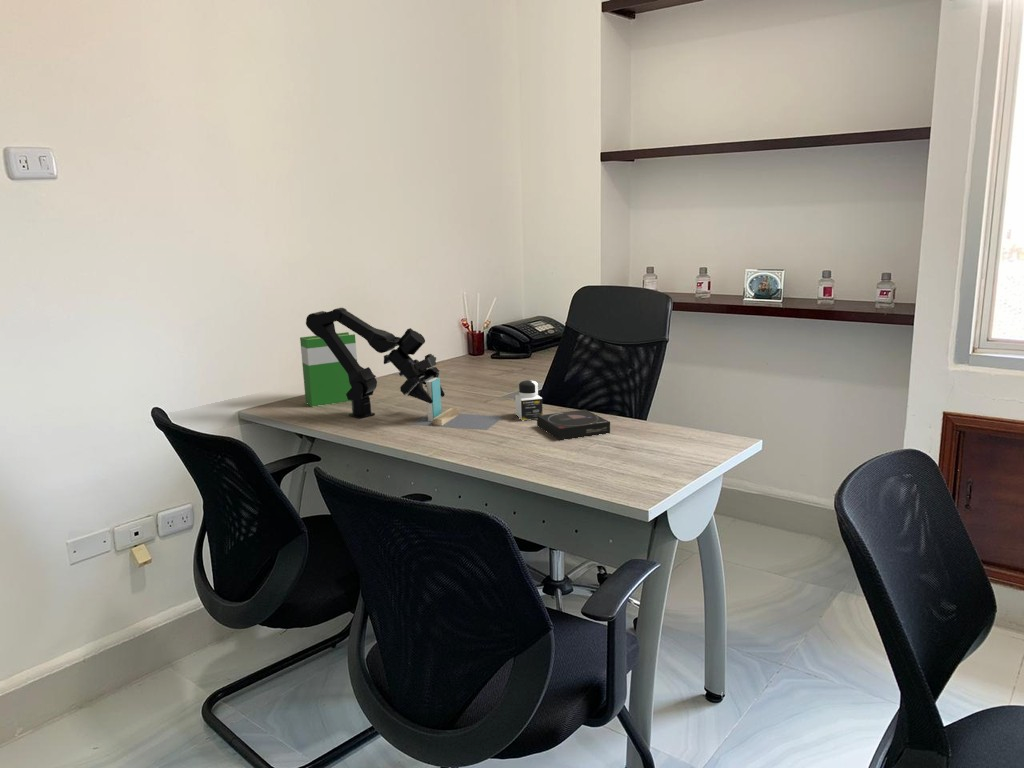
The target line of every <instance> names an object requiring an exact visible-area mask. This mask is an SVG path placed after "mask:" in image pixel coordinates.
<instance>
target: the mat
mask: <svg viewBox="0 0 1024 768" xmlns="http://www.w3.org/2000/svg"><path fill="white" fill-rule="evenodd" d="M503 418H505V416H503V415H502V416H501V415H487V414H471V413H459V415H458V416H456V417H455V418H453V419H451V420H450V421H448V422H447V423H445V424H444V425H442V426H438V425H433V421H428V413H427V414H425V415H424V416H422V417H420V418H418V419H417V420H415V421H414V422H411V423H410V425H411V426H412V425H413V426H423V427H424V426H425V427H439V428H453V429H468V430H482V431H487V430H489V429H490V428H492V427H493V426H494V425H495V424H497V423H498V422H499V421H501V420H502V419H503Z"/></svg>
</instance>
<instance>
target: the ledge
mask: <svg viewBox="0 0 1024 768" xmlns="http://www.w3.org/2000/svg"><path fill="white" fill-rule="evenodd" d="M459 414H460V408H455V407H450V408H449V409H446V410H445V411H442V414H440V415H438V416H437V417H435V418H434V419H433V425H438V426H442V425H444V424H445V423H447V422H448V421H450V420H451V419H453V418H455V417H456V416H458V415H459Z"/></svg>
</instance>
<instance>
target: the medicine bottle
mask: <svg viewBox="0 0 1024 768" xmlns="http://www.w3.org/2000/svg"><path fill="white" fill-rule="evenodd" d="M518 388H519V389H518V393H519V394H515V396H514V397H515V398H514V399H515V416H516V415H517V416H518V417H519V418H520V419H521V420H527V421H532V420H531V419H537V417H538V416H539V415H544V414H543V397H542V396H540V395H539V383H538V382H537V381H535V380H528V379H527V380H523V381H520V382H519V383H518ZM517 416H516V417H517ZM518 417H517V418H518ZM519 418H518V419H519ZM520 419H519V420H520ZM521 420H520V421H521Z"/></svg>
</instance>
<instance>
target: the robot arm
mask: <svg viewBox="0 0 1024 768" xmlns="http://www.w3.org/2000/svg"><path fill="white" fill-rule="evenodd" d="M335 322H338V323H340V324H341V325H342V326H344V327H345V328H348V329H349V330H350V331H352V332H353V333H356V334H357V335H358V336H360V337H361V338H363V339H364V340H365V341H367V343H368V345H369V346H370V347H371V348H372V349H373V350H374V351H376V353H379V354H384V353H387V352H389V351H390V352H389V353H388V354H385V355H383V364H384V365H386V364H389V363H391V364H392V365H393V366H394V367H395V368H396V369H397V370H398V371H399V373H398V375H399V376H400V377H402V376H403V377H404V378H405V379H406V380H405V381H404V382H403V383H402V384H401V386H400V393H402V394H403V395H404V396H406V395H407V396H408V397H412V398H416V399H418V400H421V401H423V402H425V403H430V404H431V403H432V402H433V400H432V399H431V397H430V396H429V395H428V394H427V390H425V388H427V386H426V381H428V380H430V379H432V378H439V376H440V370H439V368H438V367H437V362H436V361H437V357H436V356H435V355H434V354H432V353H428V354H427V355H425V356H424V359H422V360H418V359H413V358H412V356H413V355H414V356H415V354H416V353H417V352H418V351H419V349H420V348H421V347H422V346H423V345H424V344H425V343H426V339H425V337H424V336H423V335H422V333H419V332H418V331H416V330H413V328H407V329H406V330H405V332H404V333H403V335H401V337H400V336H395V335H394V333H392V332H389V331H387V330H384V329H380V328H376V327H373V326H372V325H371V324H369V323H367V322H366V321H364V320H362V319H361V318H359V317H358V316H356V315H354V314H353V313H352V312H350V311H348V310H347V309H346V308H344V307H338V308H335V309H332V310H330V311H323V310H321V311H318V312H317V311H316V312H312V313H309V314H308V315H307V316H306V318H305V325H306V327H307V329H309V330H310V331H311V333H312V334H313V335H314V336H318V337H320V338H321V339H323V340H324V342H325V343H326V344H327V346H328V347H329V349H330V350H331V351H332V353H333V354H334V355H335V357H336V358H337V360H338V361H339V362H340V364H341V365H342V367H343V368H344V369H345V371H346V372H347V374H348V377H349V383H350V385H351V387H352V388H351V389H350V390H349V391H348V392H347V393H346V396H347V398H348V400H351V401H350V402H351V413H348V416H349V417H354V418H357V419H362V418H363V419H364V418H365V417H371V416H375V415H376V413H375V412H373V411H372V406H371V398H370V396H373V395H374V391H375V390H376V389H377V386H378V381H377V378H376V377H377V376H376V375H375V374H374V373H373V372H372V370H371V368H370V367H366V368H364V367H362V366H361V365H360V364H359V362H358V360H357V361H356V360H355V358H354V357H353V355H352V354H351V353H350V351H349V350H348V348H347V347H346V346H345V344H344V343H343V342H342V340H341V339H340V337H339V336H338V335H337V333H338V332H337V331H336V327H335ZM395 348H396V349H395ZM410 355H412V356H410ZM424 387H425V388H424ZM440 391H441V398H443V397H445V391H444V389H443V388H442V386H441V384H440Z"/></svg>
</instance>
